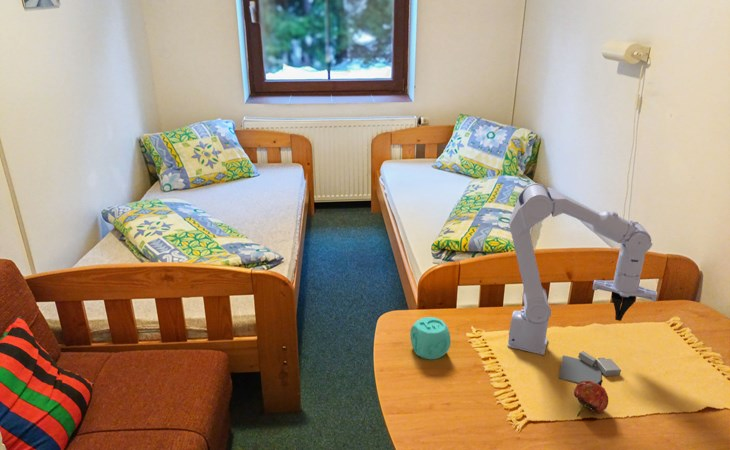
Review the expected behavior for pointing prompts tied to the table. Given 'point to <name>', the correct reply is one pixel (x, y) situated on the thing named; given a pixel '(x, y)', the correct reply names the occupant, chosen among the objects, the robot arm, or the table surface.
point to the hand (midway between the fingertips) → (618, 318)
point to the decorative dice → (430, 338)
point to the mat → (578, 371)
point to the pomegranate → (591, 396)
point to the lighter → (601, 364)
